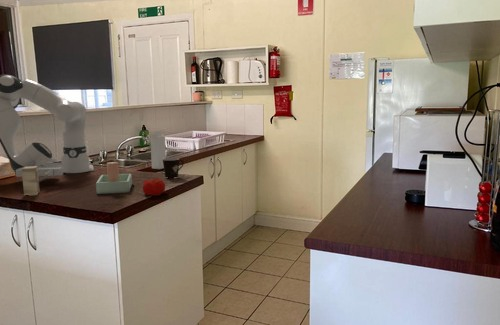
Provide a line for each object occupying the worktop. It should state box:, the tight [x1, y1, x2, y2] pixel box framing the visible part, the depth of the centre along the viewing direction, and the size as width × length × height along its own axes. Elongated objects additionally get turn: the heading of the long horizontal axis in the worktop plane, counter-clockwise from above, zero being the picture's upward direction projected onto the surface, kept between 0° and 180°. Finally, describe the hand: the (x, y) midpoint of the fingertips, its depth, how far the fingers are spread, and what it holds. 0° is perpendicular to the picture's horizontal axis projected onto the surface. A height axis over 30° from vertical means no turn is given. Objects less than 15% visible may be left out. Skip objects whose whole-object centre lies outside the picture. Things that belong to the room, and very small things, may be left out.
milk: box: [150, 130, 167, 170], centre depth 243 cm, size 6×6×22 cm
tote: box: [95, 173, 133, 195], centre depth 193 cm, size 18×14×5 cm
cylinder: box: [106, 161, 120, 182], centre depth 188 cm, size 5×5×12 cm
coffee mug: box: [163, 157, 184, 178], centre depth 216 cm, size 12×9×10 cm
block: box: [21, 166, 41, 197], centre depth 182 cm, size 5×5×12 cm
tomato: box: [142, 177, 166, 197], centre depth 182 cm, size 10×11×6 cm
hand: (35, 174), depth 190 cm, fingers open, 8 cm apart
